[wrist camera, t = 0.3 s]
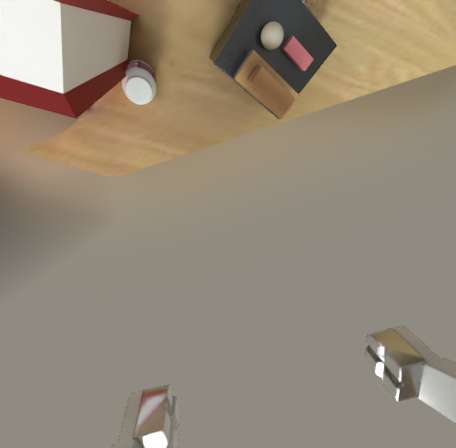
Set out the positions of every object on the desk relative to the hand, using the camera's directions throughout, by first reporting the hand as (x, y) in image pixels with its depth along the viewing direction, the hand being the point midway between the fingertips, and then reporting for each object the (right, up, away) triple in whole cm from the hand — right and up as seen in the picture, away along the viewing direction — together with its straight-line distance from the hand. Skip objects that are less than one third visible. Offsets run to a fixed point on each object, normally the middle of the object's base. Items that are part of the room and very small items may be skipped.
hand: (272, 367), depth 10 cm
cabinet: (+4, +38, +35) cm, 52 cm away
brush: (+4, +29, +30) cm, 42 cm away
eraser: (+9, +32, +28) cm, 44 cm away
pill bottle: (-18, +33, +35) cm, 51 cm away
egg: (+4, +34, +26) cm, 43 cm away
